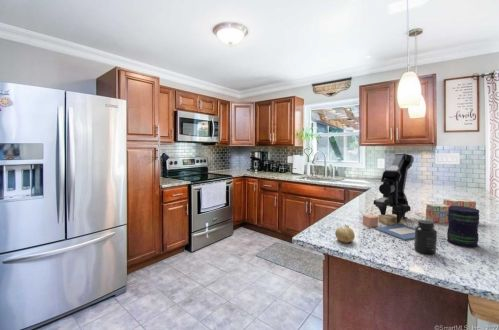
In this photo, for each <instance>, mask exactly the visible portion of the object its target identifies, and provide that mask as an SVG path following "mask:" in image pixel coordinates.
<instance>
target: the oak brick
mask: <svg viewBox="0 0 499 330" xmlns="http://www.w3.org/2000/svg"><path fill="white" fill-rule="evenodd" d="M403 222H404V219H403V217H402V219H401V220H400V222H399V223H397V215H395V214H392V213H390V214H385V215H381V214H379V215H378V223H380V224H384V225H385V226H392V225H399V224H403V225H404V223H403Z"/></svg>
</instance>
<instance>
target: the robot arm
mask: <svg viewBox="0 0 499 330" xmlns="http://www.w3.org/2000/svg"><path fill="white" fill-rule="evenodd" d="M414 159H415V158H414V156H413V155H412V154H407V153H405V152H401V153H400V152H397V153H395V157H394V159H393V160H392V163H391V164H390V166H388V167H386V168H385V169H384V171H383V172H382V174H381V175H382V176H381V180H380V183H381V184H380V185H379V187H378V190H379V191H378V192H379V193H381V194H382V197H379V198H375V199H374V200H373V205H374V206H375V207H377V209H378V210H379V212H380V215H387V214H386V213H387V207H390V208H392V209H391V214H395V215H397V223H399V222H400V220H401V219H402V217H403V220H406V219H408V217H407V216H406V213H408V212H412V211H411V206H410V205H409V201H408V199H407V195H406V193H405V188H406V182H407V176H408V171H409V169H411V168H412V165H413V163H414Z"/></svg>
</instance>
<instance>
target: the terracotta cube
mask: <svg viewBox="0 0 499 330" xmlns="http://www.w3.org/2000/svg"><path fill="white" fill-rule="evenodd" d="M362 225H363V226H366V227H369V228H376V227H379V226H378V225H379V216H376V215H374V214H363V215H362Z"/></svg>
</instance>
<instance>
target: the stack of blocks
mask: <svg viewBox="0 0 499 330" xmlns="http://www.w3.org/2000/svg"><path fill="white" fill-rule="evenodd" d="M442 200H443V203H439V204H438V203H426V206H425V207H426V209H425V220H427V221H431V222H433V223H434V224H435V223H437V224H438V223H439V224H448V223H449V220H448V210H449V209H448V207H449V206H461V207H469V208H474V209H477V207H476V206H477V202H476V201H474V200H471V199H463V198H443V199H442Z"/></svg>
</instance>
